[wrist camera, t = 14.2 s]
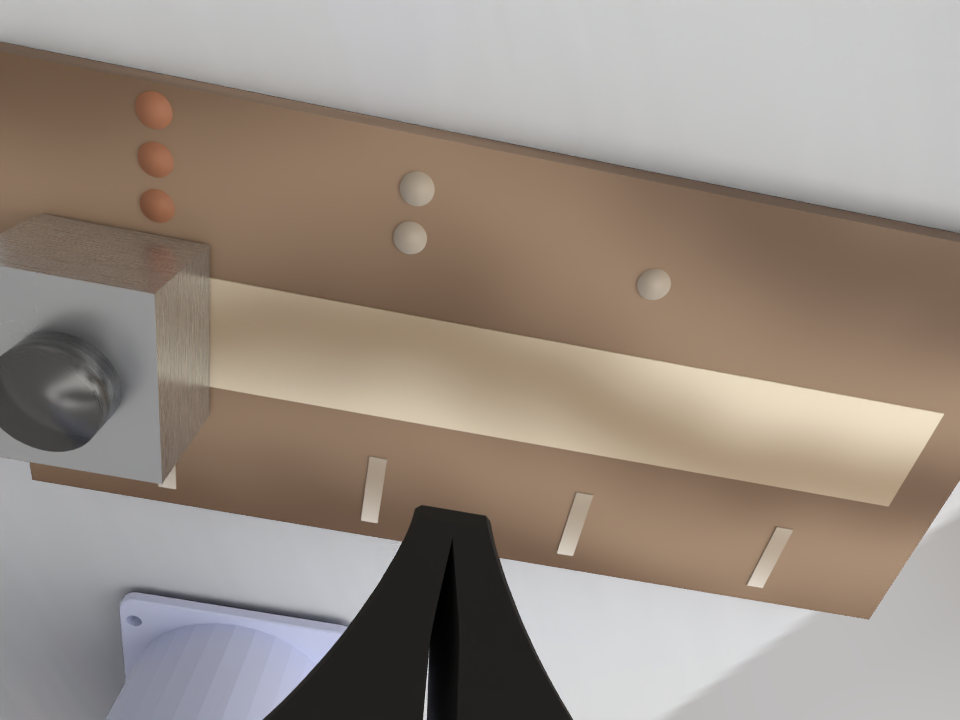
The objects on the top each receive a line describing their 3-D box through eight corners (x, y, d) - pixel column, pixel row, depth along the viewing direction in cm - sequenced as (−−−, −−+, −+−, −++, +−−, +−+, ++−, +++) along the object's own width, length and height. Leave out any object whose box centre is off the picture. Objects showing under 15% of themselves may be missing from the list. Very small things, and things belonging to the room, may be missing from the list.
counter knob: (209, 415, 19) (142, 512, 16) (61, 389, 19) (-39, 481, 16) (209, 244, 17) (131, 314, 14) (41, 213, 17) (-84, 276, 13)
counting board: (855, 595, 23) (869, 621, 22) (51, 459, 22) (31, 480, 21) (1067, 254, 17) (1098, 270, 17) (-4, 40, 16) (-36, 44, 15)
